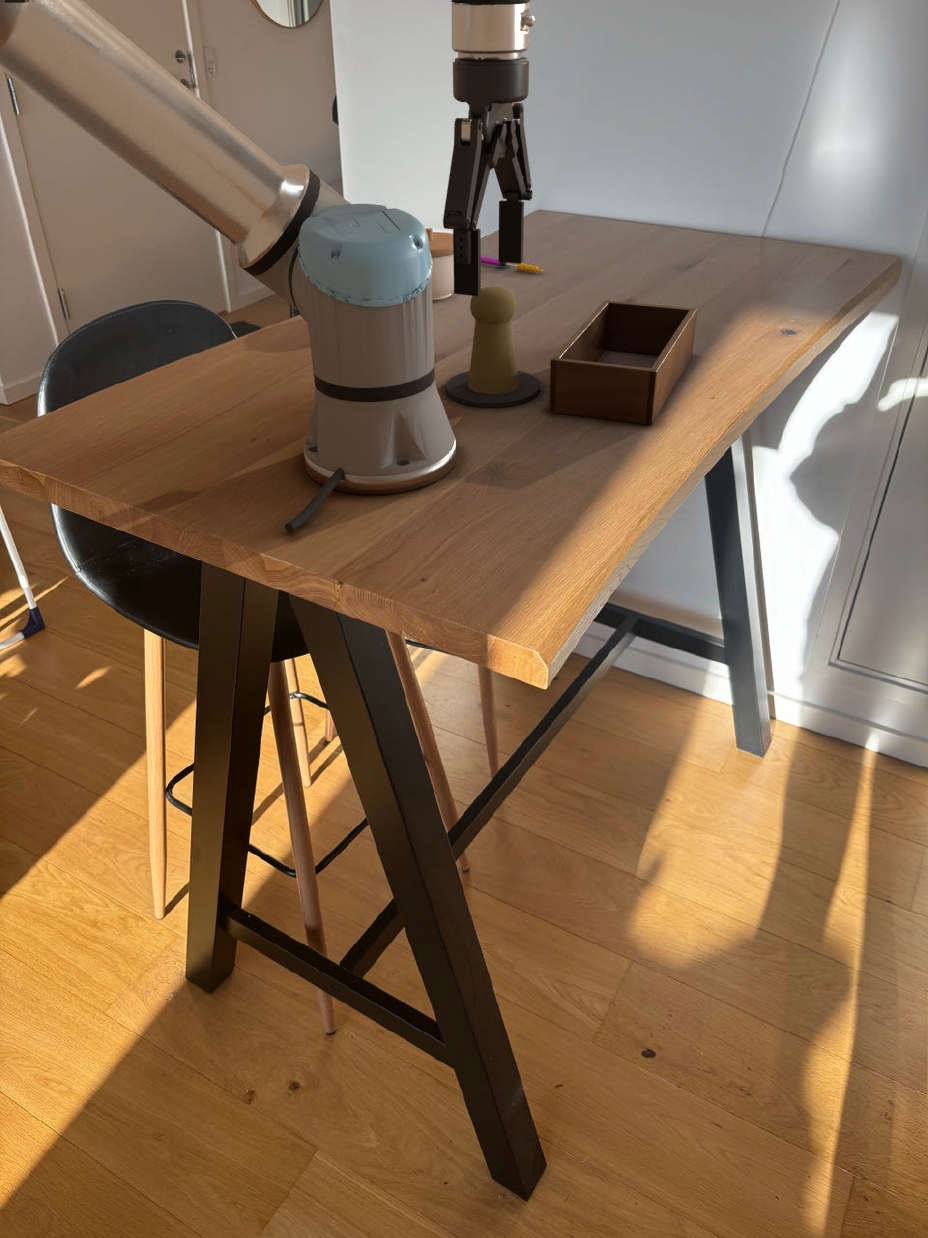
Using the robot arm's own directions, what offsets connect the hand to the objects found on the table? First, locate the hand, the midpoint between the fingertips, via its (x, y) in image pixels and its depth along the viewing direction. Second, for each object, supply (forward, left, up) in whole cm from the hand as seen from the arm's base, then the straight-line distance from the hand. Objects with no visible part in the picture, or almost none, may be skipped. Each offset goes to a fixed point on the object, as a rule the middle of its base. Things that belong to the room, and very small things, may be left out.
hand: (490, 277), depth 108 cm
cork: (0, 0, -13) cm, 13 cm away
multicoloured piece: (+51, +17, -13) cm, 55 cm away
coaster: (0, 0, -13) cm, 13 cm away
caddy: (+7, -14, -13) cm, 20 cm away
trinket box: (+33, +22, -13) cm, 42 cm away
